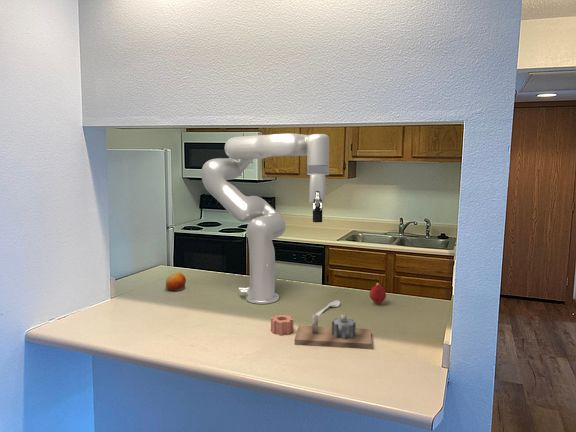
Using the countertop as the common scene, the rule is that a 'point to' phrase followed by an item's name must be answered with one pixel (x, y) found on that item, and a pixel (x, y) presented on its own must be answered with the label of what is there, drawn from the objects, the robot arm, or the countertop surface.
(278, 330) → the pink gear
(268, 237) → the robot arm
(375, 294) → the onion
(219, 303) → the countertop surface
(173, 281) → the fruit
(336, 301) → the spoon
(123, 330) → the countertop surface
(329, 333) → the gear board
